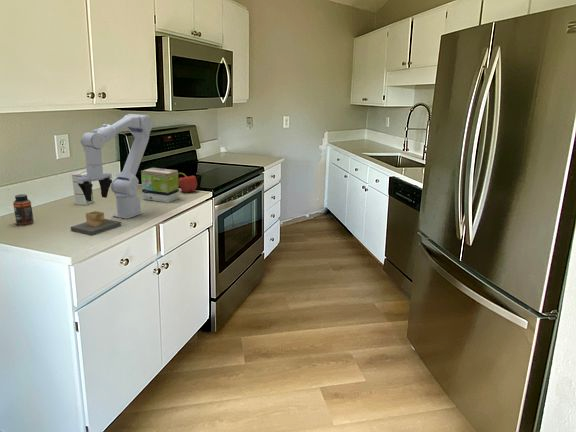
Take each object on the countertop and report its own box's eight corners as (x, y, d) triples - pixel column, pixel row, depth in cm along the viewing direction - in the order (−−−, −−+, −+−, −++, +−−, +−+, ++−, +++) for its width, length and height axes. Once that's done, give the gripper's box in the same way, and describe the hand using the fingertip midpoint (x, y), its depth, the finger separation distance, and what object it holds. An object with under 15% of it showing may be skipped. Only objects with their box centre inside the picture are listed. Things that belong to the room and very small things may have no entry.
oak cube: (96, 221, 167) (95, 210, 166) (104, 223, 165) (103, 212, 164) (86, 224, 163) (85, 213, 162) (95, 226, 161) (94, 215, 160)
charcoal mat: (100, 221, 173) (100, 217, 172) (120, 225, 168) (120, 222, 168) (71, 230, 161) (70, 226, 160) (92, 235, 156) (91, 231, 156)
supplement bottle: (37, 221, 170) (33, 193, 167) (28, 225, 164) (24, 197, 161) (21, 220, 170) (17, 193, 167) (12, 225, 164) (8, 196, 161)
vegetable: (173, 192, 225) (172, 174, 223) (183, 188, 235) (183, 170, 232) (191, 194, 222) (190, 175, 219) (201, 190, 232) (200, 172, 229)
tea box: (141, 199, 208) (140, 170, 204) (153, 195, 218) (152, 167, 214) (168, 203, 204) (167, 172, 200) (179, 198, 214) (178, 169, 209)
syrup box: (86, 205, 195) (82, 174, 191) (74, 204, 196) (71, 173, 192) (93, 202, 201) (90, 172, 197) (82, 201, 202) (79, 171, 198)
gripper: (101, 161, 171) (103, 194, 174) (70, 165, 158) (73, 200, 161) (114, 163, 168) (116, 196, 171) (84, 167, 155) (86, 203, 159)
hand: (96, 199), depth 166 cm, fingers open, 7 cm apart
